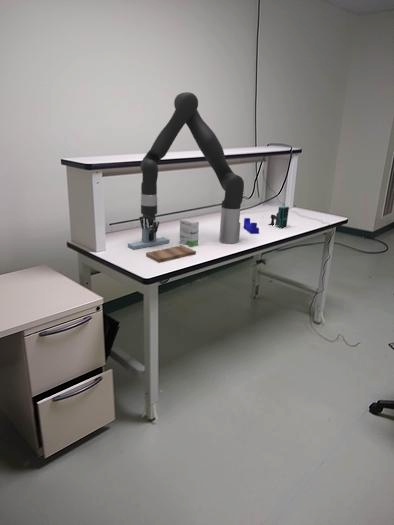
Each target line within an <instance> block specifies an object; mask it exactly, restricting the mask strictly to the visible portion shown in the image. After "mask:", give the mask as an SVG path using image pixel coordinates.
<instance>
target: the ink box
mask: <svg viewBox="0 0 394 525" xmlns="http://www.w3.org/2000/svg"><path fill="white" fill-rule="evenodd" d="M199 226H200V222H199V221H198V220H194V219H191V218H190V219H189V218H182V219H180V220H179V244H181V245H183V246H184V245H185V246H188V247H192V248H193V247H195V246H198V245H199V232H200V231H199V228H200V227H199Z"/></svg>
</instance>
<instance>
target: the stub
mask: <svg viewBox="0 0 394 525" xmlns="http://www.w3.org/2000/svg"><path fill="white" fill-rule="evenodd" d="M151 230H152V228H151ZM154 230H155V229H154ZM169 243H170V239H169V238H167V237H165V236H162V237H157V232H155V233H154V240H153V241H149V229H142V228H141V240H140V241H133V242H129V243H128V242H127V247H128V248H129V249H132V250H138V249H143V248H147V247H148V248H149V247H153V246H160V245H164V244H169Z"/></svg>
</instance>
